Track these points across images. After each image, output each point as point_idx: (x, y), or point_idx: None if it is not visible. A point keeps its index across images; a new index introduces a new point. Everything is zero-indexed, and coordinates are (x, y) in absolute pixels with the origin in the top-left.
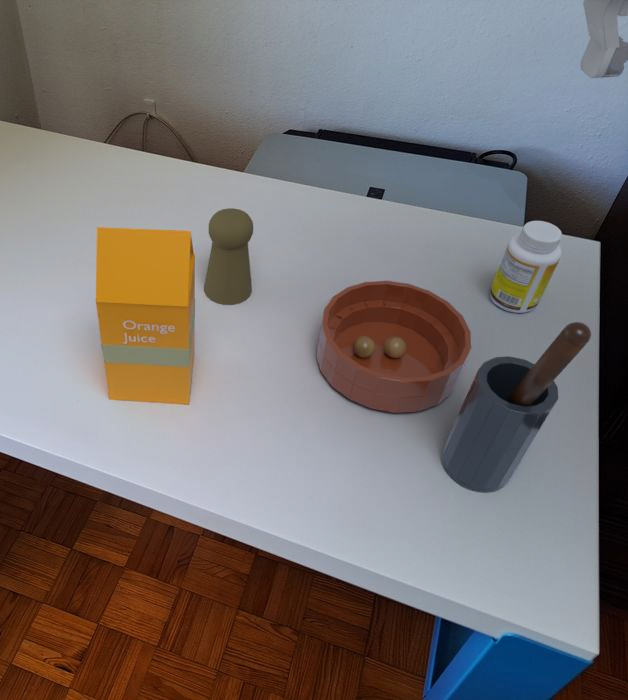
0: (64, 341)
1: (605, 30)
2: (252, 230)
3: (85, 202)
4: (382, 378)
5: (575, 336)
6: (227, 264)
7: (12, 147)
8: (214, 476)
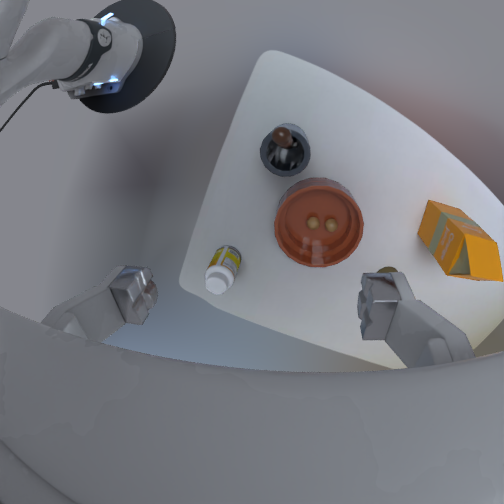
0: None
1: (442, 319)
2: None
3: None
4: (340, 190)
5: (286, 130)
6: None
7: None
8: (425, 152)
